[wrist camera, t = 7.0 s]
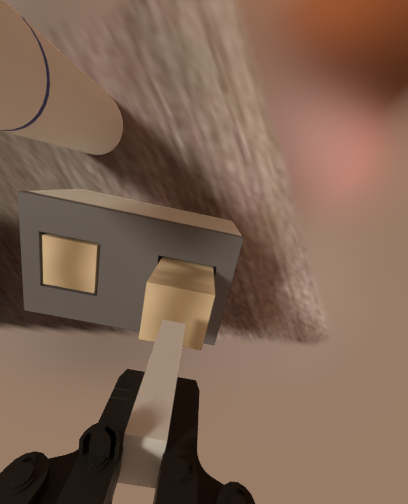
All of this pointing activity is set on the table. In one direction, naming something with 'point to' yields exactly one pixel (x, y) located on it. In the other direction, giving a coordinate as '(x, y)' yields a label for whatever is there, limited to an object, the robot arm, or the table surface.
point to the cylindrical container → (51, 93)
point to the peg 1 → (70, 262)
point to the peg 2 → (179, 299)
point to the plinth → (120, 253)
